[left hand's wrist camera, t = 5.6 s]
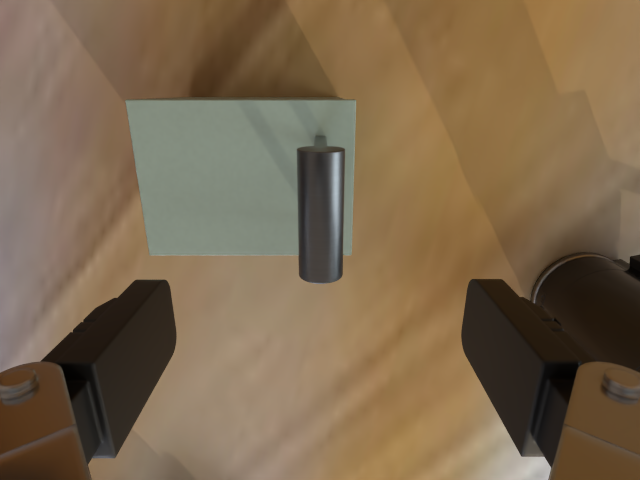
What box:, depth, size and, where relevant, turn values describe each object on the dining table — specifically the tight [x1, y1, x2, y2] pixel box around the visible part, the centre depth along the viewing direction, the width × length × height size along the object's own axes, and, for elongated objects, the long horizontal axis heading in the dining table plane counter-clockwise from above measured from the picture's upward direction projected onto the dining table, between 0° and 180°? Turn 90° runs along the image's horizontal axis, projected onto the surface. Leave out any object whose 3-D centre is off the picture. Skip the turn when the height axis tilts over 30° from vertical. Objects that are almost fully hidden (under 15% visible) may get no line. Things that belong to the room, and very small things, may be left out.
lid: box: [126, 99, 356, 284], centre depth 23 cm, size 14×10×9 cm
